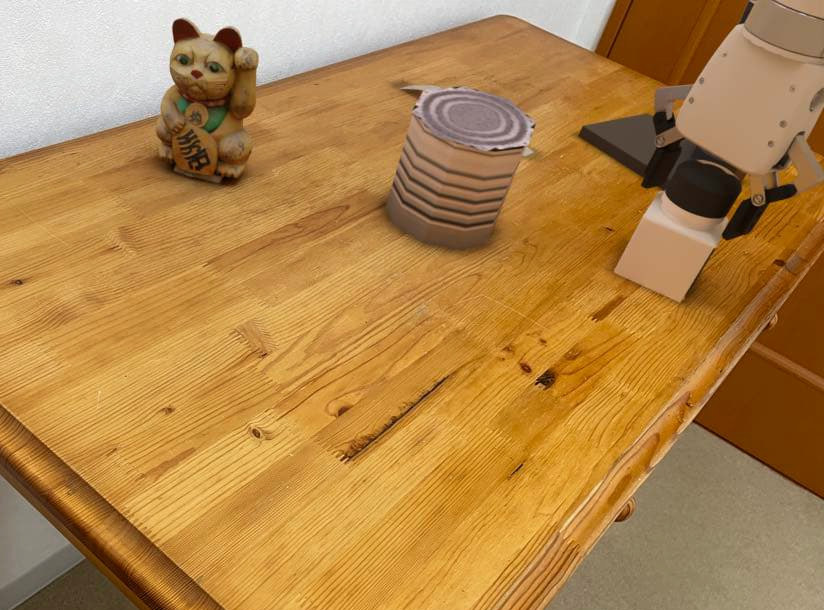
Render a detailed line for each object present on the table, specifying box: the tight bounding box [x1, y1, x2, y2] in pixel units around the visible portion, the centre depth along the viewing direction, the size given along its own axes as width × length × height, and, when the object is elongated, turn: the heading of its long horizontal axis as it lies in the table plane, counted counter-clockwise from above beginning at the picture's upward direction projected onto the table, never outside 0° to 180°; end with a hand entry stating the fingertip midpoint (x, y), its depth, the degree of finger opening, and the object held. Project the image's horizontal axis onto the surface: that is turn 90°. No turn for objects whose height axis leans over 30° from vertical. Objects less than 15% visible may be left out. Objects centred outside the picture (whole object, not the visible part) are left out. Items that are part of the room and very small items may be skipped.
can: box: [385, 85, 537, 251], centre depth 83 cm, size 11×11×12 cm
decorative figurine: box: [155, 17, 260, 184], centre depth 82 cm, size 10×8×15 cm
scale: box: [577, 112, 748, 191], centre depth 107 cm, size 16×14×4 cm
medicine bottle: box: [613, 160, 743, 303], centre depth 83 cm, size 7×7×12 cm
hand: (690, 210), depth 81 cm, fingers open, 9 cm apart
